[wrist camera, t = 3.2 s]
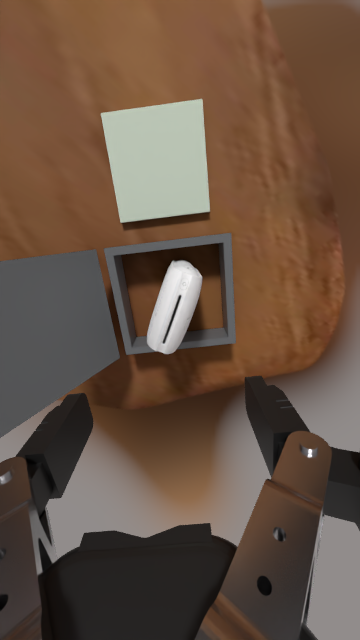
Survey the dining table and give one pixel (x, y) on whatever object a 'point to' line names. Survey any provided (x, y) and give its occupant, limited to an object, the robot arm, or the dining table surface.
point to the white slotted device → (174, 307)
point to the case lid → (50, 331)
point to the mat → (158, 160)
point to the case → (191, 337)
